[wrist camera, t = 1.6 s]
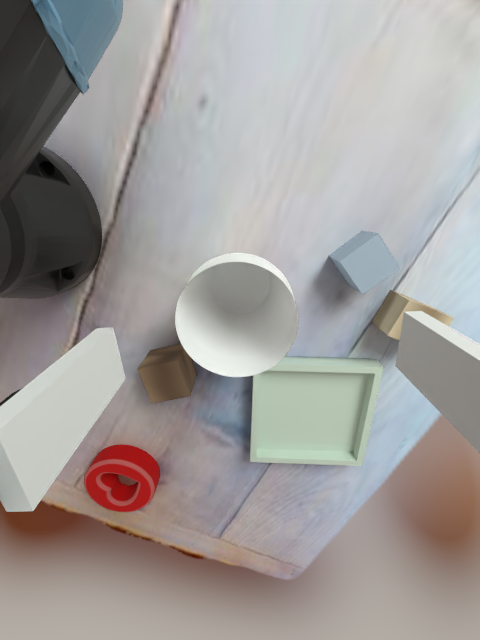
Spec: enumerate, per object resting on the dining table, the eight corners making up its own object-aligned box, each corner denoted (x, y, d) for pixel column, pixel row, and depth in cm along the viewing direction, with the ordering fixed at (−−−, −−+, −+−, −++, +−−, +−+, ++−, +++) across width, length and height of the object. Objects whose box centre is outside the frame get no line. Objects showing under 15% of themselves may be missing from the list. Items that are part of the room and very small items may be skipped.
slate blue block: (348, 284, 31) (362, 294, 27) (328, 255, 30) (339, 261, 26) (381, 261, 30) (400, 268, 26) (361, 230, 29) (378, 233, 25)
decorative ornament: (173, 471, 42) (168, 491, 39) (131, 502, 44) (123, 523, 41) (122, 432, 39) (112, 449, 36) (81, 466, 42) (68, 486, 39)
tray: (250, 450, 39) (250, 461, 38) (253, 355, 34) (253, 363, 32) (356, 453, 39) (362, 465, 37) (376, 359, 34) (383, 367, 32)
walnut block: (163, 381, 36) (151, 403, 32) (150, 350, 35) (137, 369, 30) (197, 374, 36) (190, 395, 31) (186, 342, 34) (177, 360, 30)
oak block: (371, 321, 33) (387, 335, 29) (390, 289, 31) (409, 300, 27) (409, 336, 33) (430, 352, 29) (429, 305, 32) (454, 318, 28)
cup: (282, 320, 33) (300, 376, 21) (204, 324, 33) (181, 381, 22) (281, 238, 30) (301, 254, 18) (195, 244, 30) (162, 263, 19)
